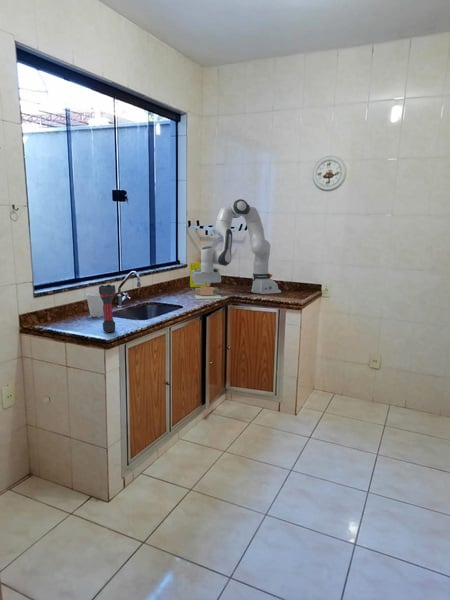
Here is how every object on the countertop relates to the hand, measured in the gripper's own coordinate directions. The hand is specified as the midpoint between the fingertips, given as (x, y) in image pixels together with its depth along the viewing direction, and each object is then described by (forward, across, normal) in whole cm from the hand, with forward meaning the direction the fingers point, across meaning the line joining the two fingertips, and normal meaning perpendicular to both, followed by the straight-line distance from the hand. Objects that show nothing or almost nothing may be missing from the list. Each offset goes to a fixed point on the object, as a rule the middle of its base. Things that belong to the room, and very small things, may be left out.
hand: (207, 288), depth 296 cm
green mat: (+5, 0, -7) cm, 9 cm away
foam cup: (+5, -64, -61) cm, 89 cm away
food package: (+5, -5, +39) cm, 40 cm away
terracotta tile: (+2, 0, -2) cm, 3 cm away
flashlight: (+5, -50, -95) cm, 108 cm away
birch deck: (+5, 0, +5) cm, 7 cm away
